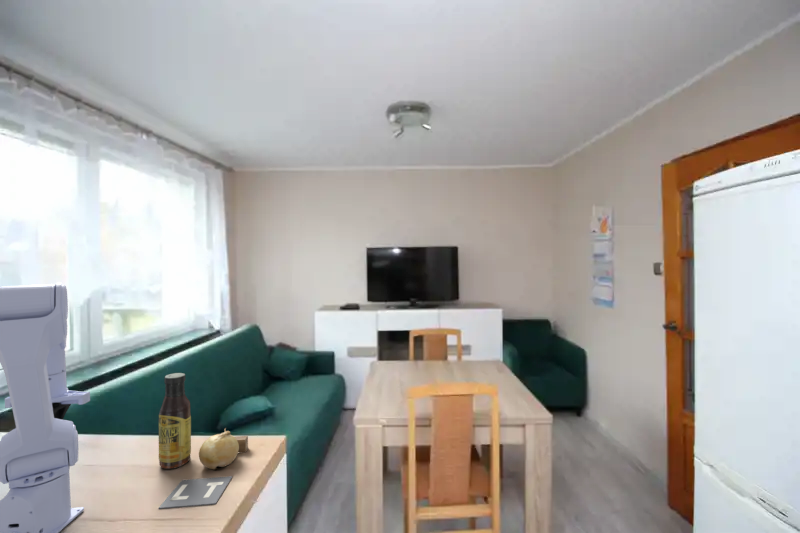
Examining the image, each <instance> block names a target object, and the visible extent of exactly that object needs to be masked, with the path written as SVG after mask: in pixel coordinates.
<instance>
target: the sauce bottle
mask: <svg viewBox="0 0 800 533" xmlns="http://www.w3.org/2000/svg"><path fill="white" fill-rule="evenodd" d="M163 380H164V385H165V388H164V389H165V390H164V391H165V395H164V397H163V400H162V405H161V407H160V409H159V414H158V461H159V467H161V468H162V469H164V470H168V469H177V468H179V467H182V466H183V465H185V464H187V463H188V462H189V461H190V459H191V453H192V416H191V415H192V414H191V401H190V400H189V399H188V397H187V395H186V391H185V381H186V374H185V373H182V372H173V373H170V374H166V375H165V376H164V379H163Z"/></svg>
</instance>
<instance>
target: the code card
mask: <svg viewBox="0 0 800 533" xmlns="http://www.w3.org/2000/svg"><path fill="white" fill-rule="evenodd" d="M232 478H233V475H229V476H217V477H214V476H213V477H203V478H188V479H187V478H186V479H182V480H180V482H179V483H178V484H177V485H176V487H174V489H173V490H172V491H171V492H170V493H169V495H167V497H166V498H165V500H163V502H162V503H161V505H160V506H159V507H158V509H159V510H161V509H173V508H186V507H198V506H199V507H200V506H210V505H211V506H212V505H216V504H217V503H218V501H219V500H220V498H221V496H223V495H222V494H223V493H224V492H225V490H226V488H227V487H226V486H228V485H229V484H230V482H231V480H232Z"/></svg>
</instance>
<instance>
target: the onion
mask: <svg viewBox="0 0 800 533" xmlns="http://www.w3.org/2000/svg"><path fill="white" fill-rule="evenodd" d="M226 429H227V427H225V428H224V430H223V431H224V432H221V433H217V434H214V435H211V436H210V437H208V438H206V440H204V441H203V442H202V444H201V446H200V448H199V450H198V459H199V461H200V463H201V464H202V465H203V466H204V467H205V468H208V469H210V470H217V467H219V468H220V467H223V468H224V467H226V466H229V465H230V464H232V463H233V462H234V461H235V459H236V458H237V456H238V454H239V453H238V451H239V444H238V441H237V440H236V438H235V437H236V436H234V435H232V434H231V431H229V430H226Z"/></svg>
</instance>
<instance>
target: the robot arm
mask: <svg viewBox="0 0 800 533" xmlns="http://www.w3.org/2000/svg"><path fill="white" fill-rule="evenodd" d="M68 302H69V299H68V290H67V286H66V285H65V284H64V283H63V282H56V283H49V284H48V283H46V284H28V285H26V284H25V285H23V284H22V285H6V286H5V285H4V286H3V285H1V286H0V365H1V368H2V370H3V372H4V376H5V381H6V384H7V390H8V395H9V396H7V397H5V398H4V408H5V409H12V413H13V419H14V424H15V428H13V429H12V430H10V431H8V432H7V433H5V434H4V435H3V436H1V438H0V483H2V485H5V484H6V485H7V484H8V489H9V490H8V492H7V493H6V494H5V496H4V497H3V498H1V500H0V533H60V532H61V531H62V530H63V529H64V528H65V527H67V526H68V525H69V524H70V523H71V522H72V521H74V520H75V519H76V517H78V516H79V515H80V514H82V512H84V511H85V507H84V506H81V507H79V506H78V507H72V501H71V481H70V480H71V479H70V478H71V477H70V468H71V467H73V466H75V465H76V463H78V461H79V434H78V430H77V428H76V425H75V424H74V422H73V421H72V420H67V419H64V418H65V416H66V414H67V412H68V410H69V408H70V407H71V406H72V405H73V404H75V405H76V404H77V405H79V406H80V405H81V406H82V405H85V404H87V403H89V402H91V392H90V391H80V390H79V391H78V390H69V388H68V387H67V384H68V383H67V366H66V363H67V361H66V347H67V335H68V317H69V314H68V313H69V312H68V310H69V305H68Z"/></svg>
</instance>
